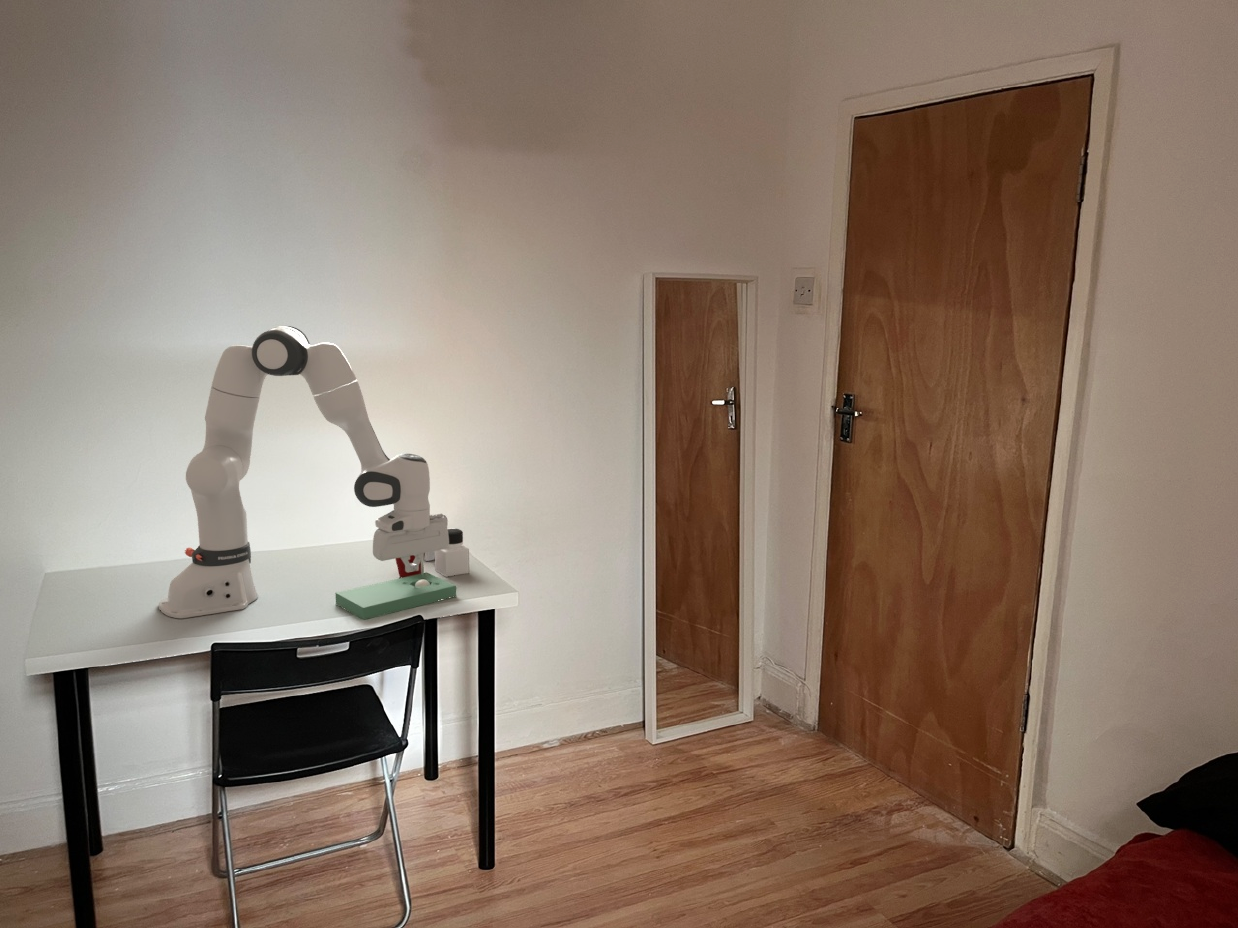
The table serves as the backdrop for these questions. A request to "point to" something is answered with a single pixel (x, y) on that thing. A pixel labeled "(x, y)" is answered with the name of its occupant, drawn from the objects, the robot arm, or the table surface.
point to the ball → (422, 583)
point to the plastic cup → (402, 567)
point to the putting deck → (394, 595)
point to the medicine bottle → (453, 555)
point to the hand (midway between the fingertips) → (411, 571)
